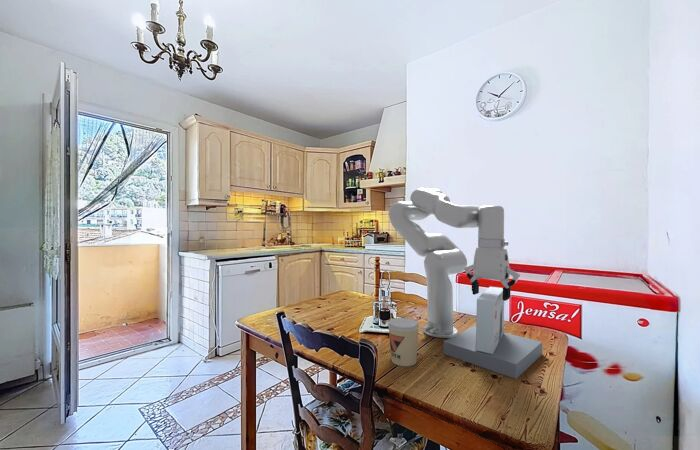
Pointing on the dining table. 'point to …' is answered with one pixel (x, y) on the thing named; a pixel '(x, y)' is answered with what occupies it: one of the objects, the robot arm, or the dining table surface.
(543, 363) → the dining table surface
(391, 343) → the coffee cup
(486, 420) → the dining table surface
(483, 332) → the skincare box
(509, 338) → the podium
